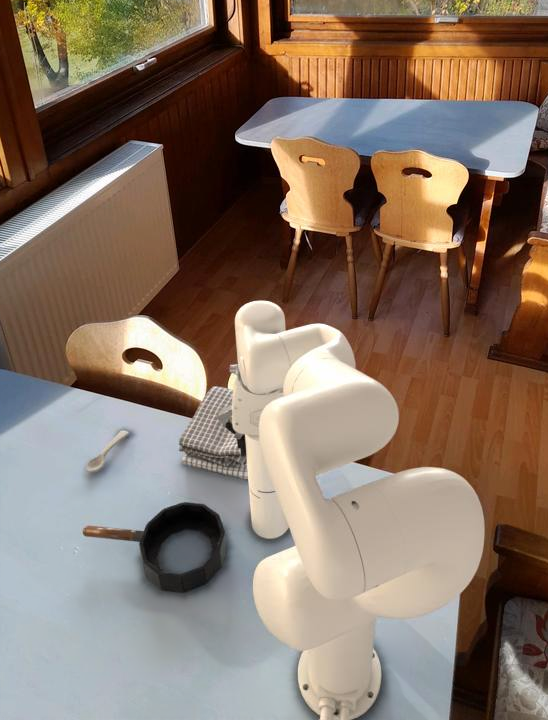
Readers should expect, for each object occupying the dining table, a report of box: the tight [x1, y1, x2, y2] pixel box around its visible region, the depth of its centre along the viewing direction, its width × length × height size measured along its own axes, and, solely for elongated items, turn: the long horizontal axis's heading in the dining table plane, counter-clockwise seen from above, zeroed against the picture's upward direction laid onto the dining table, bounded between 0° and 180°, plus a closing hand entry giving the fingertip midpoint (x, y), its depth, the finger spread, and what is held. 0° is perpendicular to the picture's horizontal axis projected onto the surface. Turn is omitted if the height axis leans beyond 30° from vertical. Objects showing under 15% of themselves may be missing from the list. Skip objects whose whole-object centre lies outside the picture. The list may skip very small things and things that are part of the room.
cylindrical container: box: [245, 434, 290, 540], centre depth 117 cm, size 7×7×25 cm
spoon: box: [85, 429, 130, 474], centre depth 136 cm, size 3×12×2 cm, turn 159°
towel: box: [178, 385, 248, 480], centre depth 137 cm, size 15×18×8 cm
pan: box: [82, 501, 228, 594], centre depth 117 cm, size 14×25×4 cm, turn 84°
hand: (267, 451), depth 113 cm, fingers closed on cylindrical container, 7 cm apart
